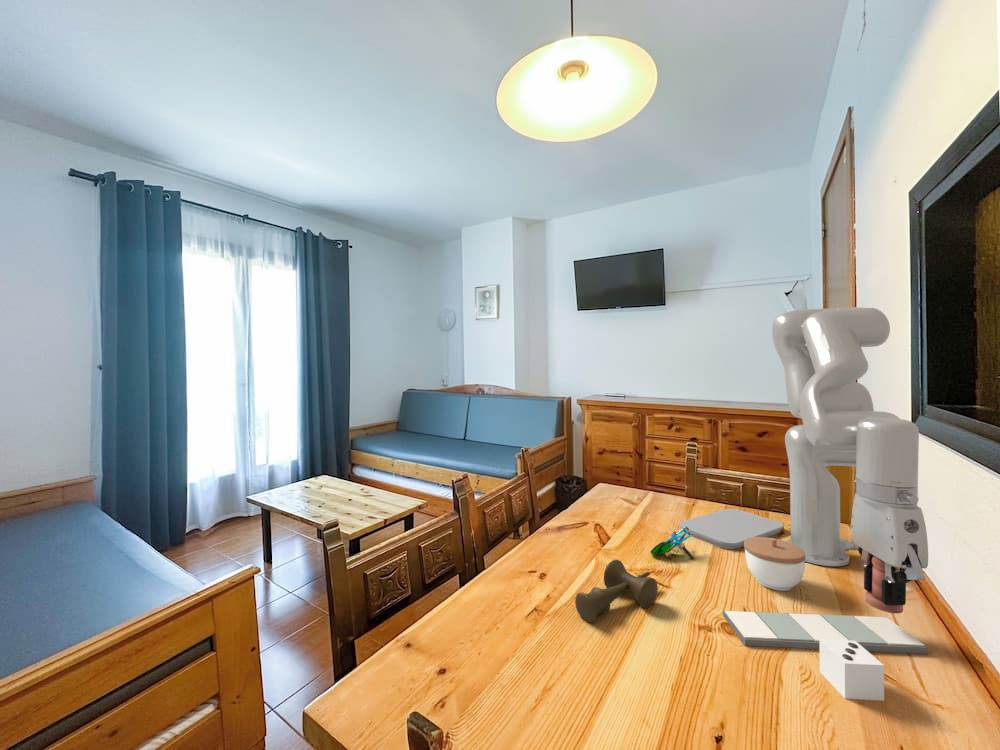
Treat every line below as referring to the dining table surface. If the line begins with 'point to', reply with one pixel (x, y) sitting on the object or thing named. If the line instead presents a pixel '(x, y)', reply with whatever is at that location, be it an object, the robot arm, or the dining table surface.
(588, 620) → the kendama
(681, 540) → the stick construction toy
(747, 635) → the track board
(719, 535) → the tablet
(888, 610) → the pawn
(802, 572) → the lidded jar
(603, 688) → the dining table surface
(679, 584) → the dining table surface
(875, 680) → the die
